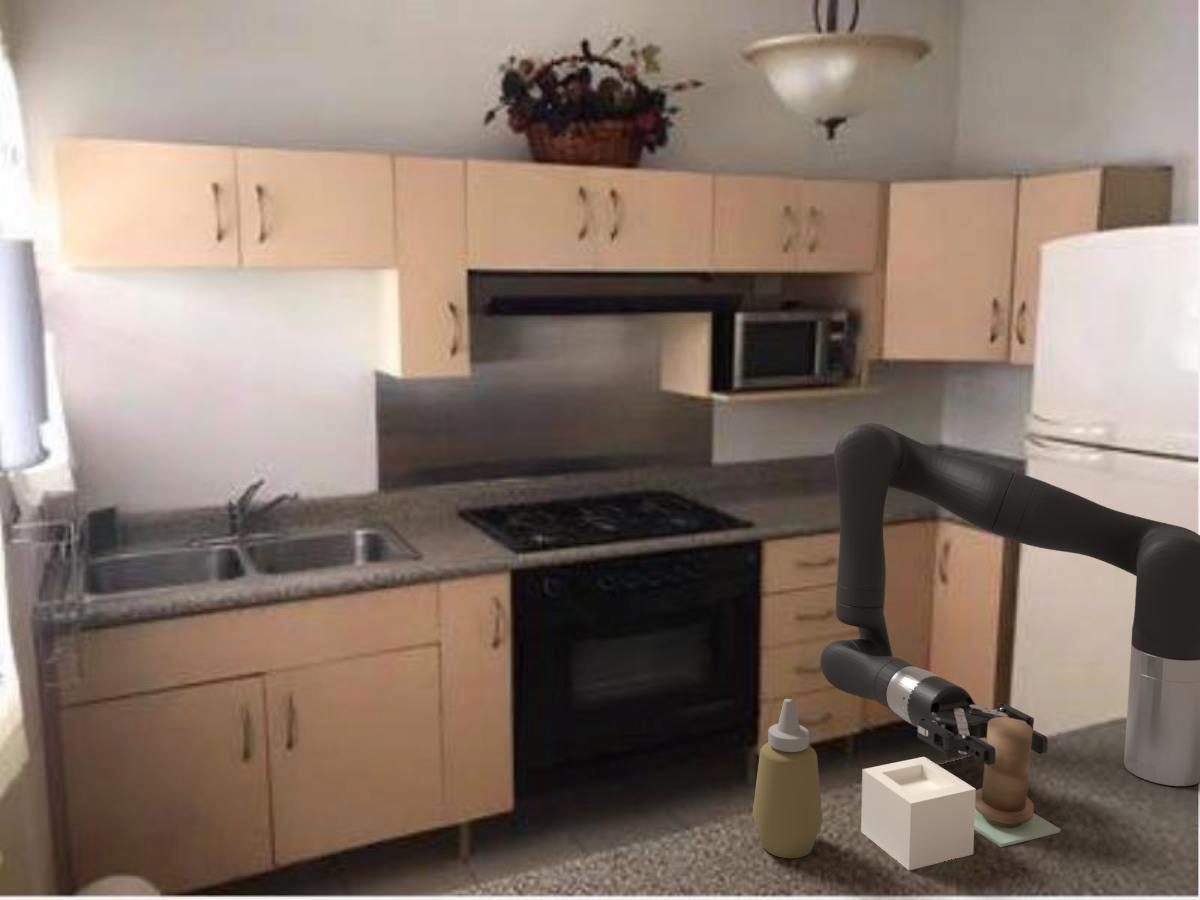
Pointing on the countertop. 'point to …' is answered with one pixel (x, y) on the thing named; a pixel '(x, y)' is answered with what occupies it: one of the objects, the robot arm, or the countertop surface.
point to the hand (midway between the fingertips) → (1019, 751)
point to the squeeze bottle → (787, 789)
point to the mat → (1014, 830)
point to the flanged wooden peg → (1007, 774)
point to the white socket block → (918, 812)
